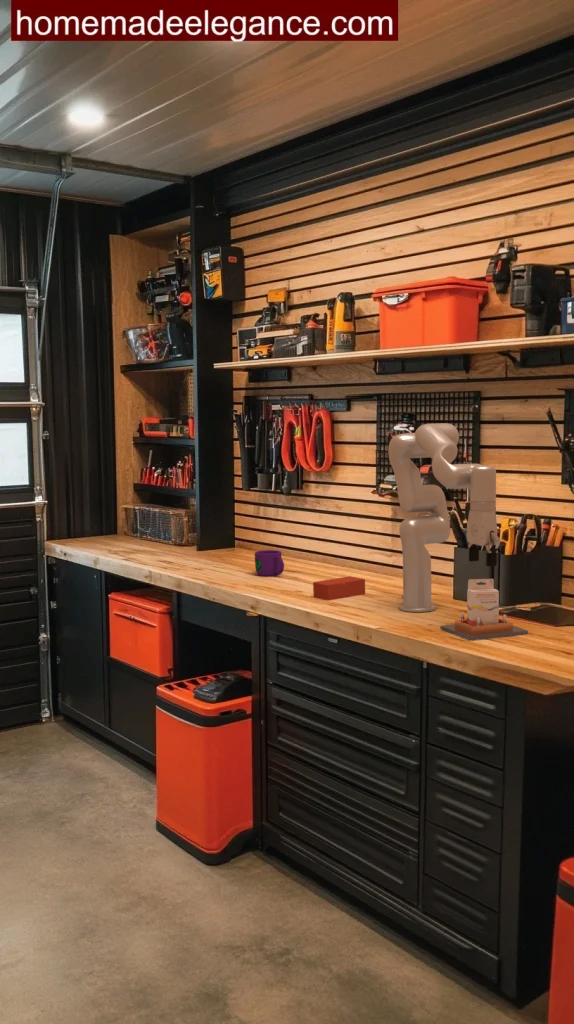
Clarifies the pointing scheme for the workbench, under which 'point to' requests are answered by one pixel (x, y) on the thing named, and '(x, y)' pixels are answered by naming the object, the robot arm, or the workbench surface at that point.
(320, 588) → the brick
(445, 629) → the cartridge tray
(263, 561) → the mug
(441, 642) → the workbench surface
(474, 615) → the ink cartridge box
